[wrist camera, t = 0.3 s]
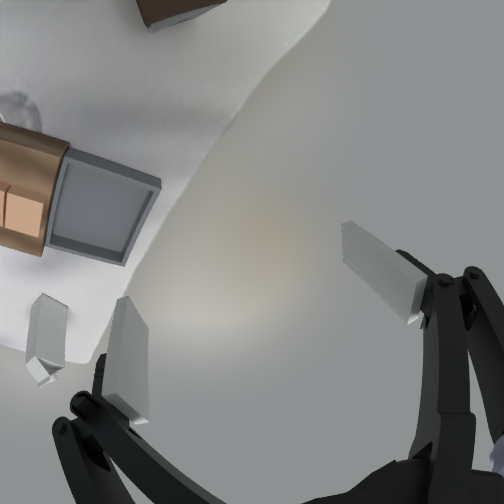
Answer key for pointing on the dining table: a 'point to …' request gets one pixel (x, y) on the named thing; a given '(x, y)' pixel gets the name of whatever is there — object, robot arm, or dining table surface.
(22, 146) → the brown wooden board
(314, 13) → the dining table surface
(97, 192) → the tray
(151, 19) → the coffee box
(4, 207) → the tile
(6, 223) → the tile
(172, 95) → the dining table surface
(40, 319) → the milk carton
